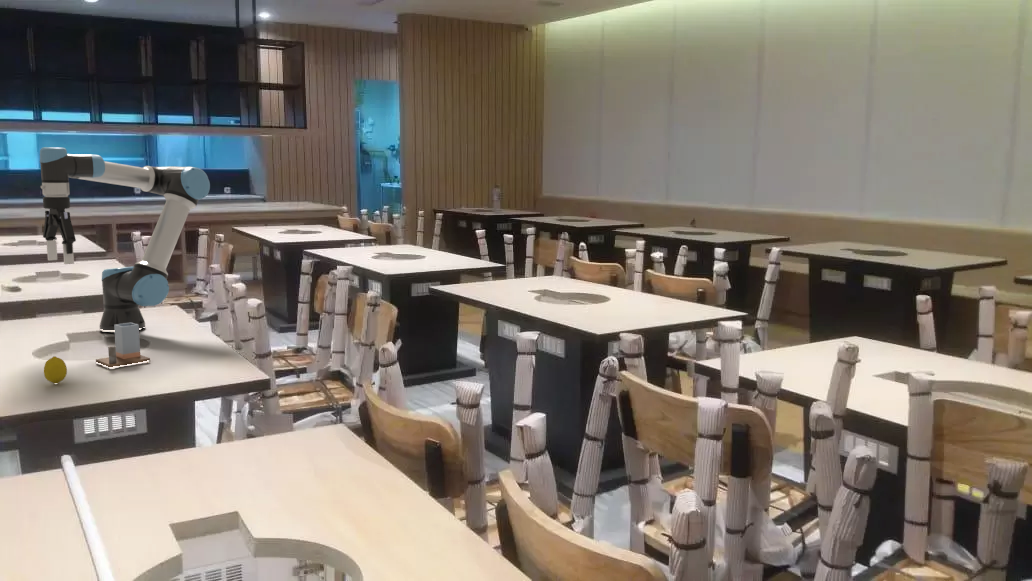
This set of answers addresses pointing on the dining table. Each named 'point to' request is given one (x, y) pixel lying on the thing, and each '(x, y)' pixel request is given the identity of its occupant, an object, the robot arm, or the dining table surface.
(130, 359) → the pin board
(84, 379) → the dining table surface
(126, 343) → the sleeve
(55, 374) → the lemon
